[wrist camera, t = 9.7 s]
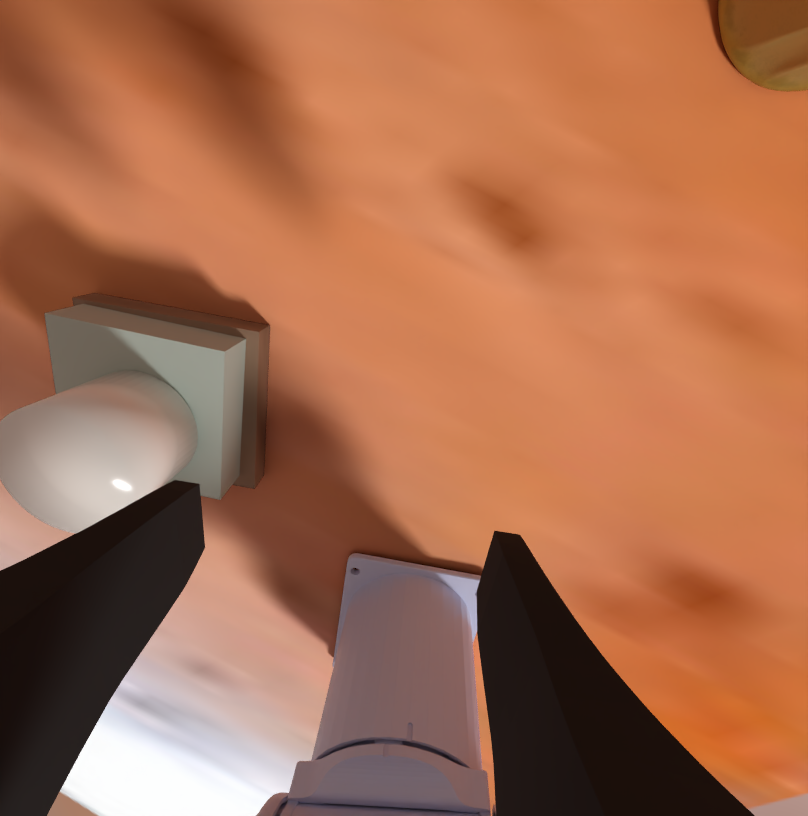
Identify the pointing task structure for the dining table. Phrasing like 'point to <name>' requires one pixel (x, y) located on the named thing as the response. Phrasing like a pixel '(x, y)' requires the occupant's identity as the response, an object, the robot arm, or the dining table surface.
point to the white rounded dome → (95, 448)
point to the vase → (767, 41)
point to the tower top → (162, 376)
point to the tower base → (253, 374)
